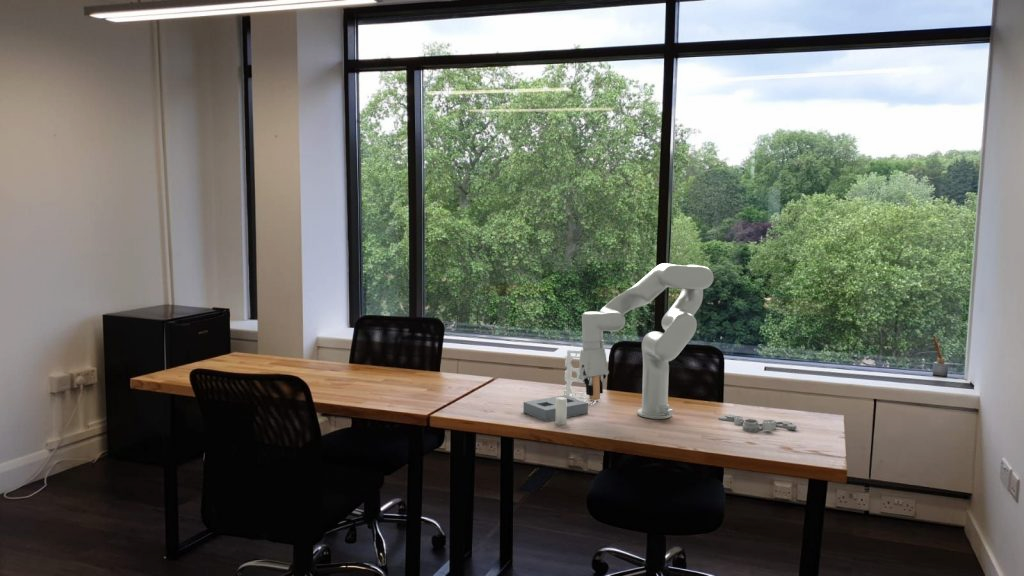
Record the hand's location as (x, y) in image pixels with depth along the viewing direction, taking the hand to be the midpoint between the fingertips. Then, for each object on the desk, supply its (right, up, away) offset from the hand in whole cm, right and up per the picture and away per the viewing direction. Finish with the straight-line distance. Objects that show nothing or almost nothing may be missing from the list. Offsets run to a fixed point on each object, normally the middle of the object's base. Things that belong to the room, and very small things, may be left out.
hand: (594, 393), depth 264 cm
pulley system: (+56, -11, -8) cm, 58 cm away
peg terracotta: (0, -2, 0) cm, 2 cm away
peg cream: (-13, -10, -7) cm, 18 cm away
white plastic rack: (-2, -7, +27) cm, 28 cm away
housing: (-14, -8, +6) cm, 17 cm away
